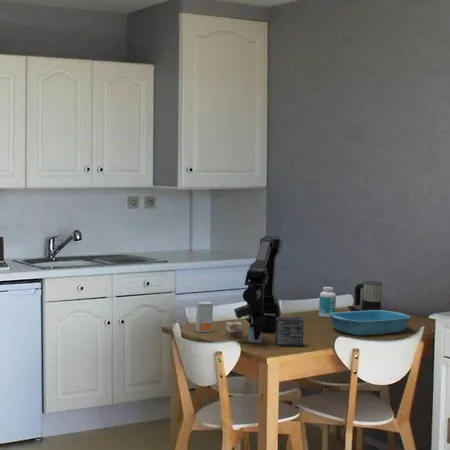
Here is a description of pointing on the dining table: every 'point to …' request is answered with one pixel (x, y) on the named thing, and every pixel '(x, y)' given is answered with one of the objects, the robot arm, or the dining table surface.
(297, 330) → the small box
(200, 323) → the skincare box
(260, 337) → the blue cube
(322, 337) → the dining table surface
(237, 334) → the tower base
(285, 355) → the dining table surface
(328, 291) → the pill bottle
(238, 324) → the tower mid
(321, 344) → the dining table surface
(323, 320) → the dining table surface
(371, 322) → the casserole dish
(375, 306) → the milk frother
